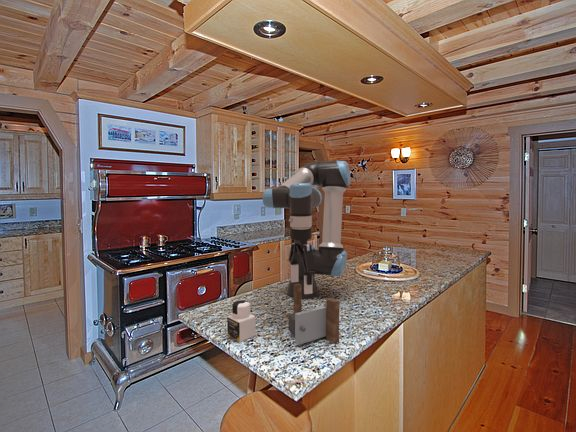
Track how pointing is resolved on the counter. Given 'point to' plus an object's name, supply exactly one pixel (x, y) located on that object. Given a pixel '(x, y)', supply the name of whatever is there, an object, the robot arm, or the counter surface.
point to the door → (310, 325)
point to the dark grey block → (291, 323)
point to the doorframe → (331, 313)
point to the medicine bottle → (241, 321)
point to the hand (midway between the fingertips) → (301, 287)
